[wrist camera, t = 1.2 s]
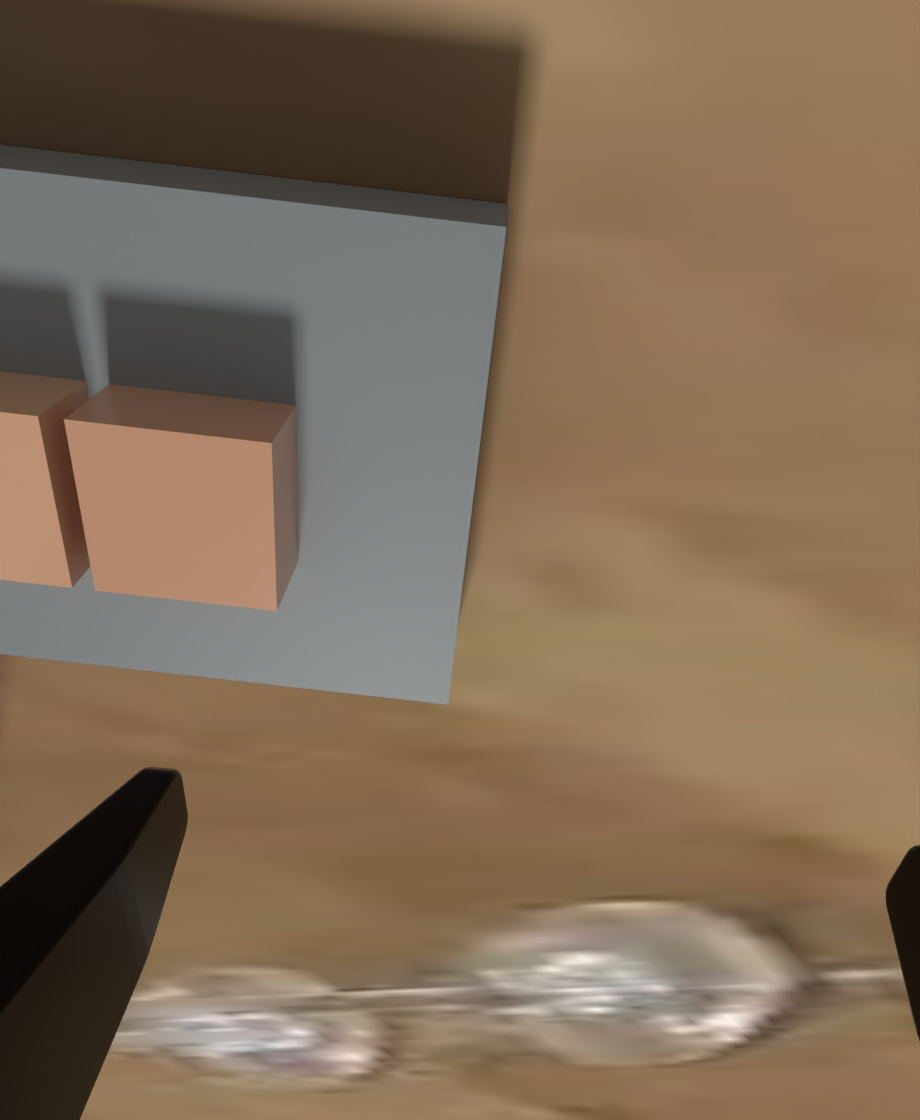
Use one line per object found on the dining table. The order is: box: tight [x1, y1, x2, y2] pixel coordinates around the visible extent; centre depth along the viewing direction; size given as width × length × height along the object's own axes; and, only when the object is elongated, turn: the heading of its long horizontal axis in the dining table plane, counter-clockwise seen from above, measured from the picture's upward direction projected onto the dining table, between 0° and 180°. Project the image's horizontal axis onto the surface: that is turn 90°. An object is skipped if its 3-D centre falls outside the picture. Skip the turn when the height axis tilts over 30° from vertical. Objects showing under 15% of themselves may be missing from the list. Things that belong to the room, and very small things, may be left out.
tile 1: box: [64, 384, 298, 611], centre depth 17 cm, size 4×4×2 cm
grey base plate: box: [0, 145, 507, 704], centre depth 19 cm, size 12×14×3 cm
